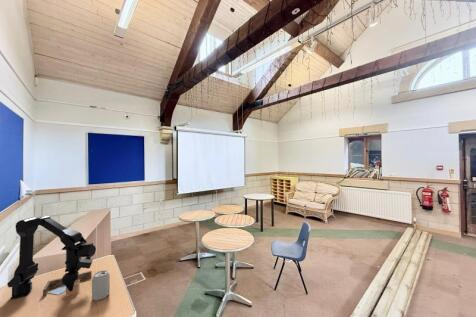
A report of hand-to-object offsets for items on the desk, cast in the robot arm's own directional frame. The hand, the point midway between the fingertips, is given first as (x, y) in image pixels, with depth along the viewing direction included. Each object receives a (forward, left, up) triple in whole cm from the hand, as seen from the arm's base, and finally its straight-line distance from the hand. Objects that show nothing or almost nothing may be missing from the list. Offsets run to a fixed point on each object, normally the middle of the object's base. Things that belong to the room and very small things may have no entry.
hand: (72, 286), depth 106 cm
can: (+13, -13, -3) cm, 19 cm away
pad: (-6, +6, -3) cm, 9 cm away
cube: (0, 0, -3) cm, 3 cm away
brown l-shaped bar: (-2, +9, -3) cm, 10 cm away
